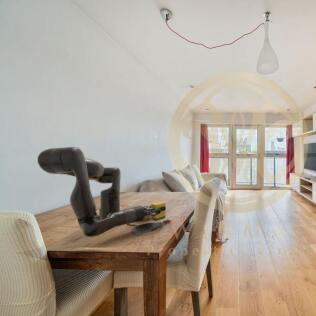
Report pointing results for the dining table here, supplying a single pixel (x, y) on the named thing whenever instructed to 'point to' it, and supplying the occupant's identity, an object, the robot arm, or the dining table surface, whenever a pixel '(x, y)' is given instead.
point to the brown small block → (167, 221)
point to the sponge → (161, 215)
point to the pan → (145, 227)
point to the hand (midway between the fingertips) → (162, 207)
